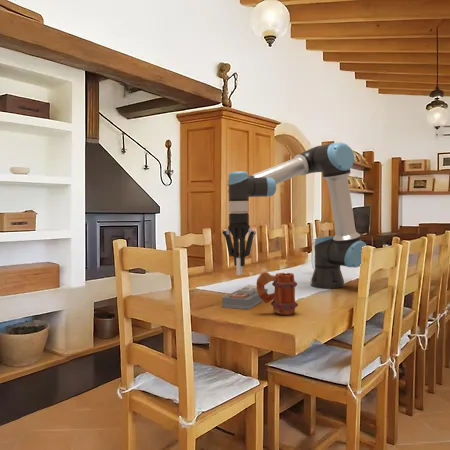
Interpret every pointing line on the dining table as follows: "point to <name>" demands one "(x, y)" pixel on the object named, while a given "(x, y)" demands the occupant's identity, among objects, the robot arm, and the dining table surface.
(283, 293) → the mug
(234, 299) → the key board
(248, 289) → the key
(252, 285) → the key
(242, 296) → the key
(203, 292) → the dining table surface
